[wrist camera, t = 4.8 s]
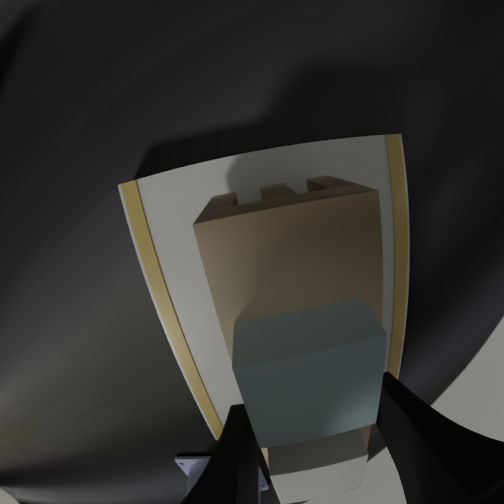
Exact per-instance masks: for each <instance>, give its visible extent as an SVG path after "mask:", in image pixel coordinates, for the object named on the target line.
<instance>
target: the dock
mask: <svg viewBox="0 0 504 504" xmlns="http://www.w3.org/2000/svg"><path fill="white" fill-rule="evenodd" d="M327 175H329V176H332V177H336V178H339V179H343V180H346V181H350V182H353V183H356V184H360V185H363V186H366V187H369V188H372V189H375V190H379V200H380V212H381V227H382V248H383V315H382V327H383V329H384V330H385V332H386V333H387V342H386V353H385V363H384V372H387V371H388V372H390V373H391V374H392V375H393V376H394V377H396V378H397V379H398V377H399V372H400V365H401V359H402V352H403V345H404V336H405V327H406V317H407V305H408V290H409V265H410V229H409V204H408V189H407V177H406V167H405V158H404V150H403V143H402V136H401V134H389V135H375V136H363V137H352V138H342V139H333V140H325V141H317V142H310V143H303V144H296V145H289V146H283V147H277V148H271V149H265V150H260V151H254V152H249V153H244V154H239V155H234V156H229V157H224V158H219V159H215V160H210V161H206V162H202V163H197V164H193V165H189V166H185V167H181V168H177V169H173V170H169V171H165V172H162V173H158V174H154V175H151V176H147V177H144V178H140V179H137V180H134V181H130V182H127V183H124V184H120V185H118V188H119V192H120V196H121V200H122V204H123V208H124V212H125V215H126V219H127V222H128V226H129V229H130V233H131V236H132V240H133V243H134V246H135V249H136V253H137V256H138V259H139V262H140V265H141V268H142V271H143V274H144V277H145V280H146V283H147V286H148V289H149V291H150V294H151V297H152V300H153V302H154V305H155V308H156V310H157V313H158V316H159V318H160V321H161V323H162V326H163V328H164V331H165V333H166V336H167V338H168V341H169V343H170V346H171V348H172V350H173V353H174V355H175V357H176V360H177V362H178V364H179V366H180V369H181V371H182V373H183V375H184V378H185V380H186V382H187V384H188V386H189V388H190V390H191V392H192V395H193V397H194V399H195V401H196V403H197V405H198V407H199V409H200V411H201V413H202V415H203V417H204V419H205V421H206V422H207V424H208V426H209V428H210V430H211V432H212V434H213V436H214V437H215V439H216V440H219V438H220V436H221V433H222V430H223V428H224V425H225V422H226V419H227V416H228V412H229V409H230V406H231V405H236V404H244V402H243V399H242V396H241V393H240V390H239V387H238V384H237V381H236V378H235V375H234V372H233V369H232V363H231V359H230V356H229V353H228V350H227V347H226V343H225V340H224V337H223V333H222V330H221V327H220V323H219V320H218V317H217V313H216V310H215V306H214V303H213V299H212V296H211V292H210V289H209V285H208V282H207V278H206V274H205V271H204V267H203V263H202V259H201V256H200V252H199V248H198V244H197V240H196V236H195V232H194V228H193V223H194V222H195V220H196V219H197V217H198V216H199V215H200V213H201V212H202V210H203V209H204V208H205V206H206V205H207V203H208V202H209V201H210V199H211V198H212V197H213V196H217V195H222V194H227V193H232V192H236V195H237V200H238V205H241V204H246V203H251V202H256V201H262V198H261V193H260V188H259V187H262V186H268V185H273V184H279V183H284V184H285V185H287V186H288V187H289V188H291V189H292V190H293V191H295V192H296V193H297V194H300V193H306V192H308V189H307V183H306V179H308V178H314V177H321V176H327ZM384 372H383V373H384Z"/></svg>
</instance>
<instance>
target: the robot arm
mask: <svg viewBox="0 0 504 504" xmlns="http://www.w3.org/2000/svg"><path fill="white" fill-rule="evenodd" d="M376 424H377V427H378V429H379V431H380V433H381V435H382V438H383V440H384V442H385V444H386V446H387V448H388V450H389V452H390V455H391V457H392V459H393V461H394V463H395V465H396V468H397V471H398V473H399V476H400V480H401V483H402V486H403V490H404V494H405V498H406V502H407V504H504V442H502V441H498V440H495V439H492V438H488V437H486V436H483V435H481V434H478V433H476V432H473V431H471V430H469V429H467V428H465V427H463V426H461V425H459V424H457V423H455V422H453V421H452V420H450V419H448V418H446V417H445V416H443V415H442V414H440V413H439V412H437V411H436V410H434V409H433V408H432V407H430V406H429V405H428V404H426V403H425V402H424V401H423V400H421V399H420V398H419V397H417V396H416V395H415V394H414V393H413V392H411V391H410V390H409V389H408V388H407V387H406V386H404V385H403V384H402V383H401V382H400V381H399V380H398V379H397V378H396V377H394V376H393V375H392V374H391V373H390V372H388V371H387V372H384V373H383V380H382V387H381V394H380V401H379V407H378V413H377V419H376ZM175 462H176V463H177V464H178V465H179V466H180V468H181V469H182V470H183V471H184V472H185V473H186V475H187V476H188V481H187V489H186V497H185V498H184V500H183V501H182V502H181V503H180V504H261V496H260V491H261V490H267V489H269V486H268V484H267V482H266V479H265V477H264V475H263V473H262V470H261V468H260V466H259V447H258V442H257V439H256V436H255V434H254V431H253V428H252V425H251V422H250V420H249V417H248V414H247V411H246V408H245V405H244V404H236V405H231V406H230V409H229V412H228V416H227V419H226V422H225V425H224V428H223V430H222V433H221V436H220V438H219V440H218V442H217V445H216V447H215V449H214V451H213V454H212V455H211V456H186V457H182V456H178V457H176V458H175Z"/></svg>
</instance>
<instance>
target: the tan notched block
mask: <svg viewBox="0 0 504 504" xmlns="http://www.w3.org/2000/svg"><path fill="white" fill-rule="evenodd" d="M306 183H307V189H308V192H306V193H300V194H297V193H296V192H295V191H293V190H292V189H291V188H289V187H288V186H287V185H285V184H284V183H279V184H273V185H268V186H262V187H259V188H260V193H261V198H262V201H256V202H251V203H246V204H241V205H238V200H237V195H236V192H232V193H227V194H222V195H217V196H213V197H212V198H211V199H210V201H209V202H208V203H207V205H206V206H205V208H204V209H203V210H202V212H201V213H200V215H199V216H198V217H197V219H196V220H195V222H194V223H193V228H194V232H195V236H196V240H197V244H198V248H199V252H200V256H201V259H202V263H203V267H204V271H205V274H206V278H207V282H208V285H209V289H210V292H211V296H212V299H213V303H214V306H215V310H216V313H217V317H218V320H219V323H220V327H221V330H222V333H223V337H224V340H225V343H226V347H227V350H228V353H229V356H230V359H231V363H232V354H233V331H234V322H239V321H245V320H251V319H257V318H262V317H268V316H273V315H278V314H283V313H288V312H293V311H298V310H303V309H308V308H313V307H317V306H322V305H327V304H331V303H336V302H340V301H344V300H348V299H353V298H357V297H361V299H362V300H363V301H364V303H365V304H366V305H367V307H368V308H369V309H370V311H371V312H372V314H373V315H374V316H375V318H376V319H377V320H378V322H379V323H380V325H381V326H382V315H383V248H382V227H381V212H380V200H379V190H375V189H372V188H369V187H366V186H363V185H360V184H356V183H353V182H350V181H346V180H343V179H339V178H336V177H332V176H329V175H327V176H321V177H314V178H308V179H306ZM359 430H360V433H361V436H362V439H363V441H364V444H365V447H366V450H367V446H368V440H369V435H370V430H371V424H370V425H367V426H364V427H361V428H359ZM261 450H262V453H263V455H264V458H265V461H266V463H267V466H268V469H269V462H268V450H267V448H261Z"/></svg>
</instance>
